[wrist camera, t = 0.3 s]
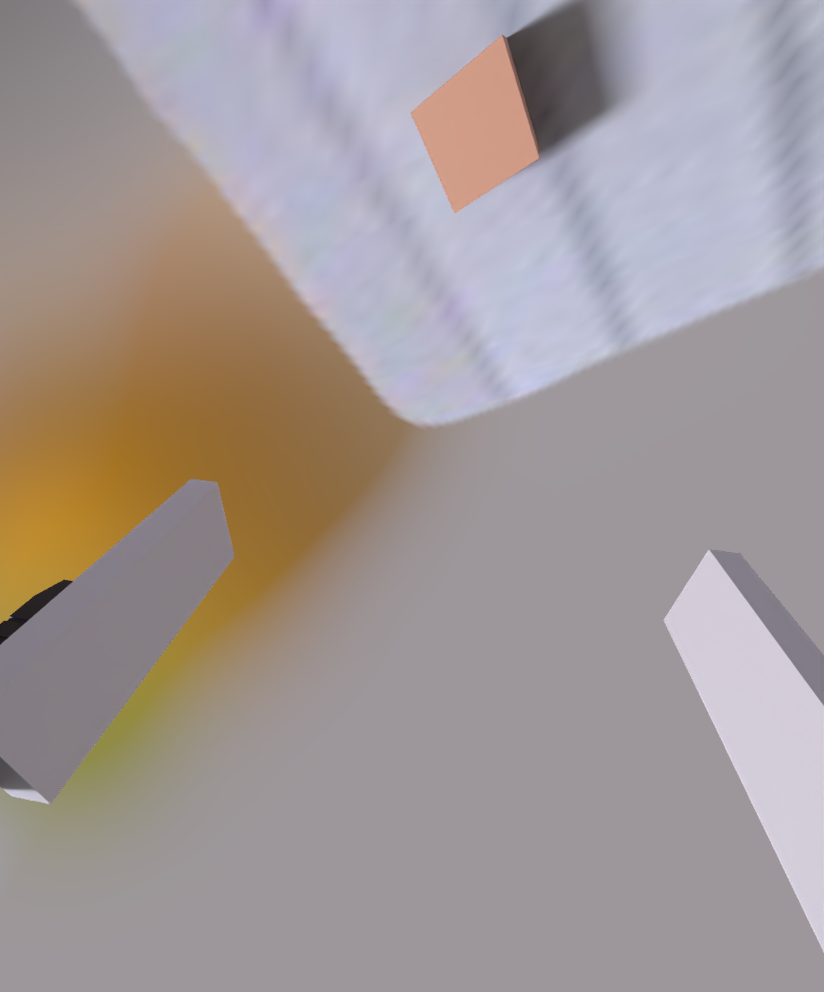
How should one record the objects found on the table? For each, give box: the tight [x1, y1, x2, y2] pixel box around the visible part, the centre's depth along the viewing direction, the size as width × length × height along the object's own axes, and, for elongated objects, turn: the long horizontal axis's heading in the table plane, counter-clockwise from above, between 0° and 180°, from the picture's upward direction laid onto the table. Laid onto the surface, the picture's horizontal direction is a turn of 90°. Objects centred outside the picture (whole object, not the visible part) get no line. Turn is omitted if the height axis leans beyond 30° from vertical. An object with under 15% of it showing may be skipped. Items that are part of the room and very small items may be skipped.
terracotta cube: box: [411, 35, 539, 213], centre depth 23 cm, size 5×5×5 cm
